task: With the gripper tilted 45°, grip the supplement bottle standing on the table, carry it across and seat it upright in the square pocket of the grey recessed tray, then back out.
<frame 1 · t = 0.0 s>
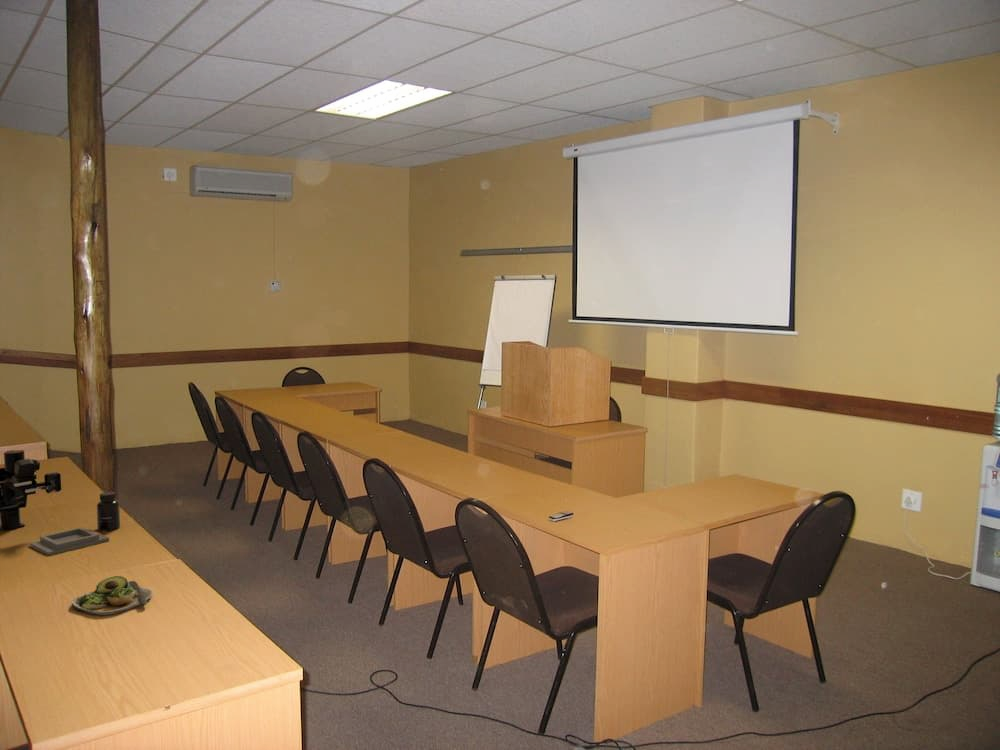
hand: (39, 491, 243), 17 cm above the table, tool horizontal, fingers open, 9 cm apart
grey recessed tray: (70, 543, 245), on the table
supplement bottle: (109, 529, 260), on the table
salad plate: (113, 603, 200), on the table
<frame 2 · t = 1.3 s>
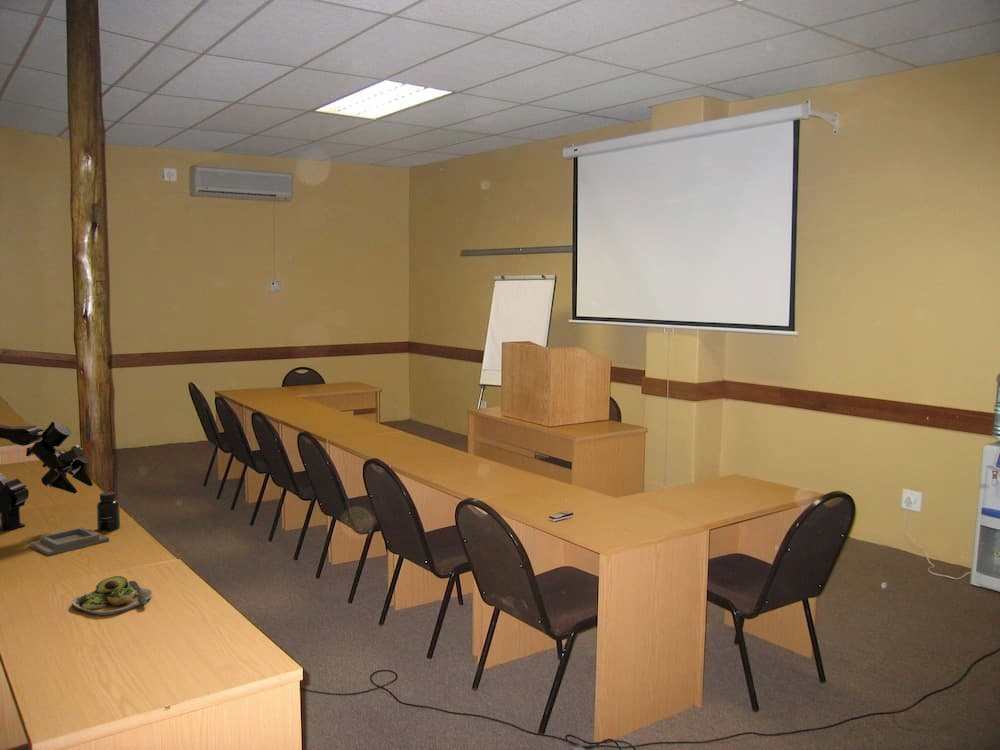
hand: (84, 488, 259), 13 cm above the table, tool tilted 45°, fingers open, 9 cm apart
nothing on the table moved.
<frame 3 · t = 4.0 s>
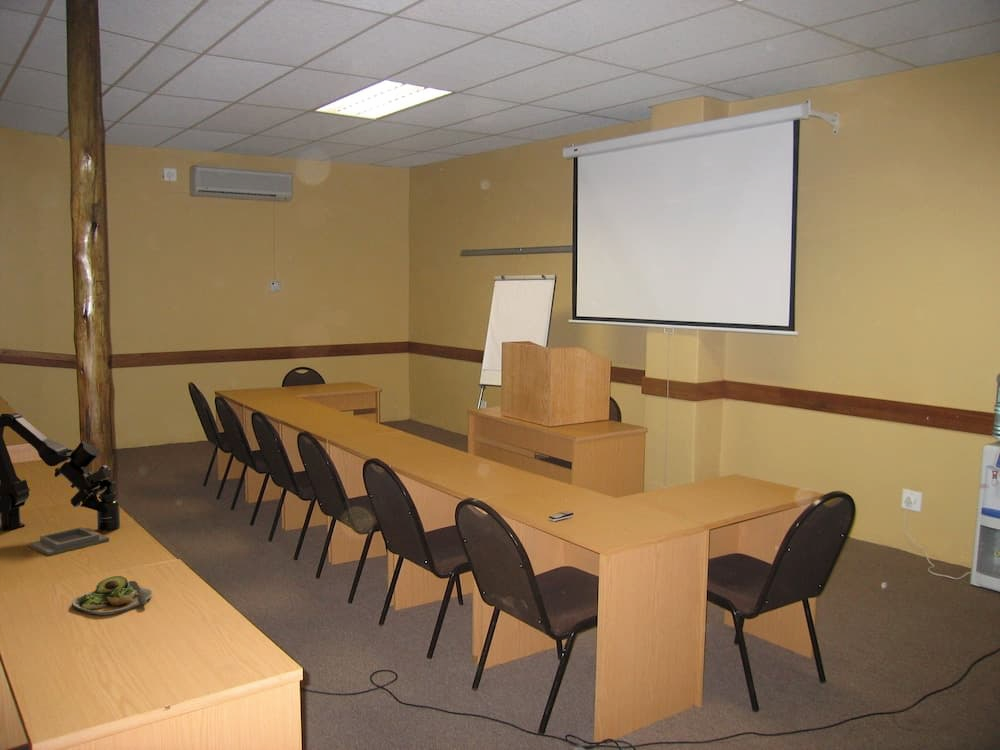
hand: (112, 509, 259), 7 cm above the table, tool tilted 45°, fingers closed on supplement bottle, 7 cm apart
supplement bottle: (109, 528, 260), on the table, touching gripper
everything else where it was.
when the fingers open (8 cm above the table, at t = 8.1 s): supplement bottle stays where it is, resting on grey recessed tray.
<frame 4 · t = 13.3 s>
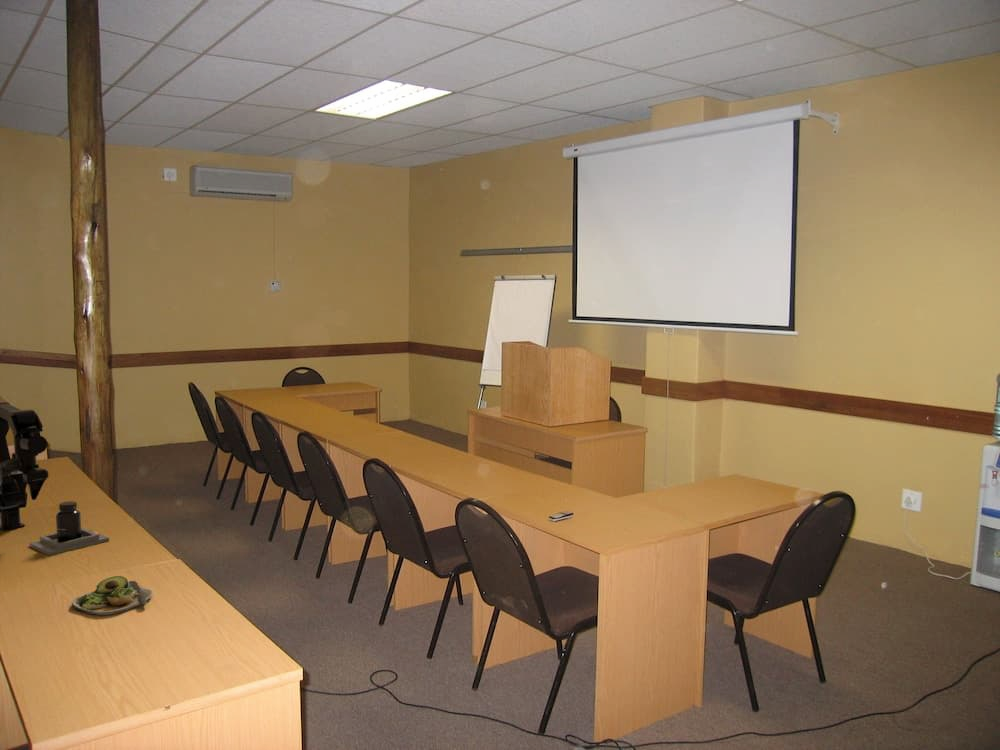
hand: (27, 497, 250), 13 cm above the table, tool pointing down, fingers open, 9 cm apart
supplement bottle: (69, 540, 245), point 1 cm above the table, touching grey recessed tray
everything else where it was.
at the end: supplement bottle 0.2 cm off-centre on the grey recessed tray, point 0.8 cm above the grey recessed tray's base; supplement bottle tilted 0°; the gripper is holding nothing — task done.
